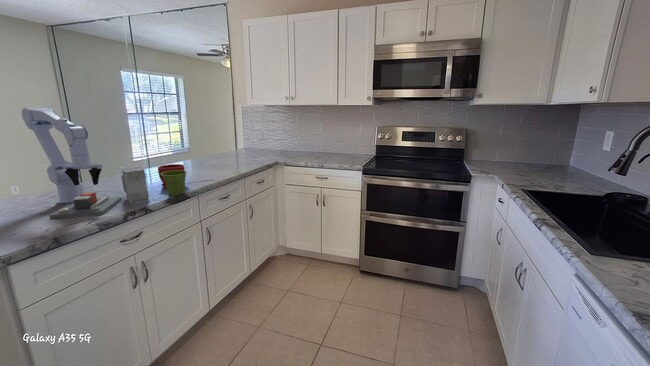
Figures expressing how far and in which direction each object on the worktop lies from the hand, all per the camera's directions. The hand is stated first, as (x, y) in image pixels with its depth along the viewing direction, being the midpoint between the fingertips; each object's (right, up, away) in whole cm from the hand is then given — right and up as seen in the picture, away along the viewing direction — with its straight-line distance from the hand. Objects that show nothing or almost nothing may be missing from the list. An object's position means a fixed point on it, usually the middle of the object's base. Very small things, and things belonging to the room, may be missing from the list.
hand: (86, 184), depth 128 cm
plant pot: (+30, -5, +19) cm, 36 cm away
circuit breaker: (+15, -7, +11) cm, 20 cm away
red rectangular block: (+3, -9, -2) cm, 9 cm away
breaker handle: (+4, -10, -6) cm, 12 cm away
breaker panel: (+3, -10, -3) cm, 11 cm away
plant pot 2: (+21, -1, +34) cm, 40 cm away
